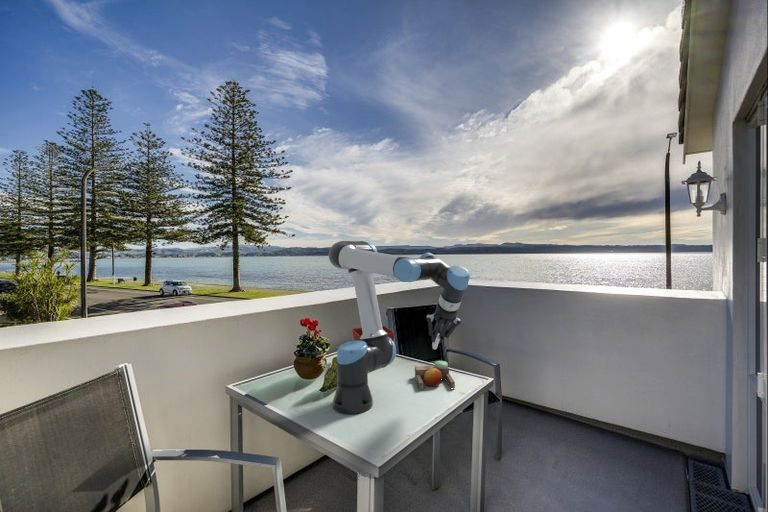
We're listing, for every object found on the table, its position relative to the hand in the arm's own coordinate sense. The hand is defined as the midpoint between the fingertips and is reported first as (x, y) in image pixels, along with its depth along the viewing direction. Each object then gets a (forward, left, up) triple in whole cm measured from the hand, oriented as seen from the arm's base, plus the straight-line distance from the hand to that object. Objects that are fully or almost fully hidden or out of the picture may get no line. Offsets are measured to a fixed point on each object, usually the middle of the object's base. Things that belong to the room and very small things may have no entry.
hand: (434, 346), depth 131 cm
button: (+7, +21, -21) cm, 30 cm away
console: (+3, +21, -21) cm, 30 cm away
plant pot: (-24, +49, -21) cm, 58 cm away
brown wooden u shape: (+3, +14, -21) cm, 25 cm away
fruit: (+2, +15, -21) cm, 26 cm away
